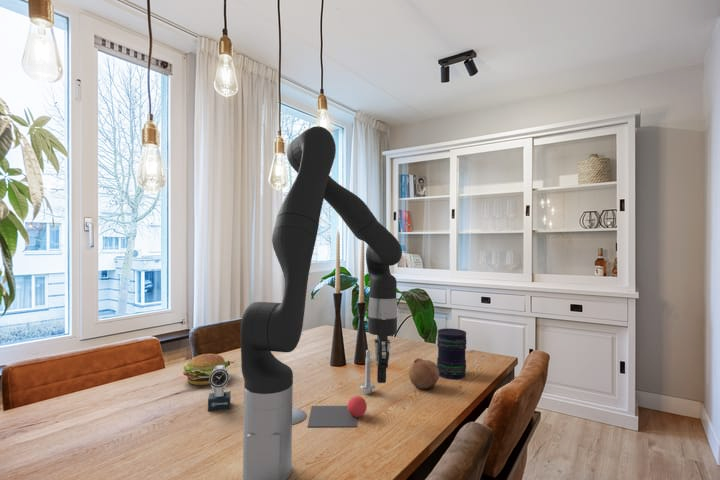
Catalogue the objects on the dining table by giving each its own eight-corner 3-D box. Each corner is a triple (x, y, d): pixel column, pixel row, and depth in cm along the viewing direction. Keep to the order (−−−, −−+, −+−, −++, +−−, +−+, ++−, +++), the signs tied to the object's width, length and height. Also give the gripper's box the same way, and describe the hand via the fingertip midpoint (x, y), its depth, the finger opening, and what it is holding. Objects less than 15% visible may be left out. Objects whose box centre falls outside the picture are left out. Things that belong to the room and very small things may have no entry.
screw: (356, 393, 117) (364, 388, 121) (370, 396, 114) (378, 391, 119) (357, 350, 117) (365, 346, 121) (371, 352, 114) (379, 348, 119)
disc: (303, 425, 96) (303, 424, 96) (263, 425, 96) (263, 424, 96) (307, 408, 106) (307, 407, 106) (270, 408, 106) (270, 407, 106)
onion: (411, 395, 123) (398, 365, 126) (434, 383, 128) (421, 354, 130) (426, 395, 115) (412, 362, 117) (450, 382, 119) (436, 350, 122)
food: (173, 386, 121) (173, 360, 121) (198, 371, 135) (198, 348, 135) (214, 389, 119) (215, 363, 119) (235, 374, 133) (236, 350, 133)
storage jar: (472, 377, 132) (472, 333, 132) (447, 381, 128) (448, 335, 129) (454, 368, 141) (455, 327, 141) (431, 371, 138) (431, 329, 138)
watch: (207, 414, 101) (207, 372, 102) (210, 402, 109) (210, 362, 109) (229, 412, 103) (230, 370, 103) (231, 400, 111) (231, 361, 111)
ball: (351, 400, 99) (344, 417, 99) (369, 407, 99) (362, 423, 100) (352, 389, 104) (344, 405, 104) (369, 396, 104) (362, 411, 105)
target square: (356, 427, 96) (356, 426, 96) (307, 427, 95) (307, 426, 95) (355, 406, 108) (355, 405, 108) (311, 406, 107) (311, 405, 107)
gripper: (367, 310, 108) (366, 373, 108) (369, 319, 95) (368, 391, 94) (394, 311, 108) (393, 374, 108) (400, 319, 95) (398, 391, 95)
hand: (381, 382), depth 101 cm, fingers closed
